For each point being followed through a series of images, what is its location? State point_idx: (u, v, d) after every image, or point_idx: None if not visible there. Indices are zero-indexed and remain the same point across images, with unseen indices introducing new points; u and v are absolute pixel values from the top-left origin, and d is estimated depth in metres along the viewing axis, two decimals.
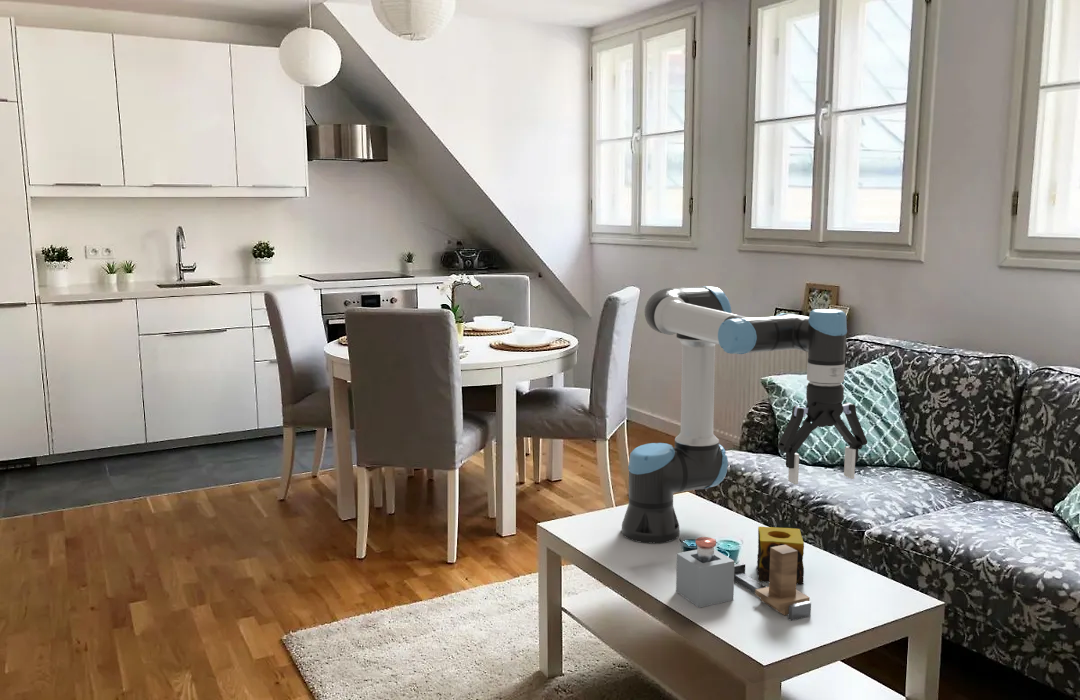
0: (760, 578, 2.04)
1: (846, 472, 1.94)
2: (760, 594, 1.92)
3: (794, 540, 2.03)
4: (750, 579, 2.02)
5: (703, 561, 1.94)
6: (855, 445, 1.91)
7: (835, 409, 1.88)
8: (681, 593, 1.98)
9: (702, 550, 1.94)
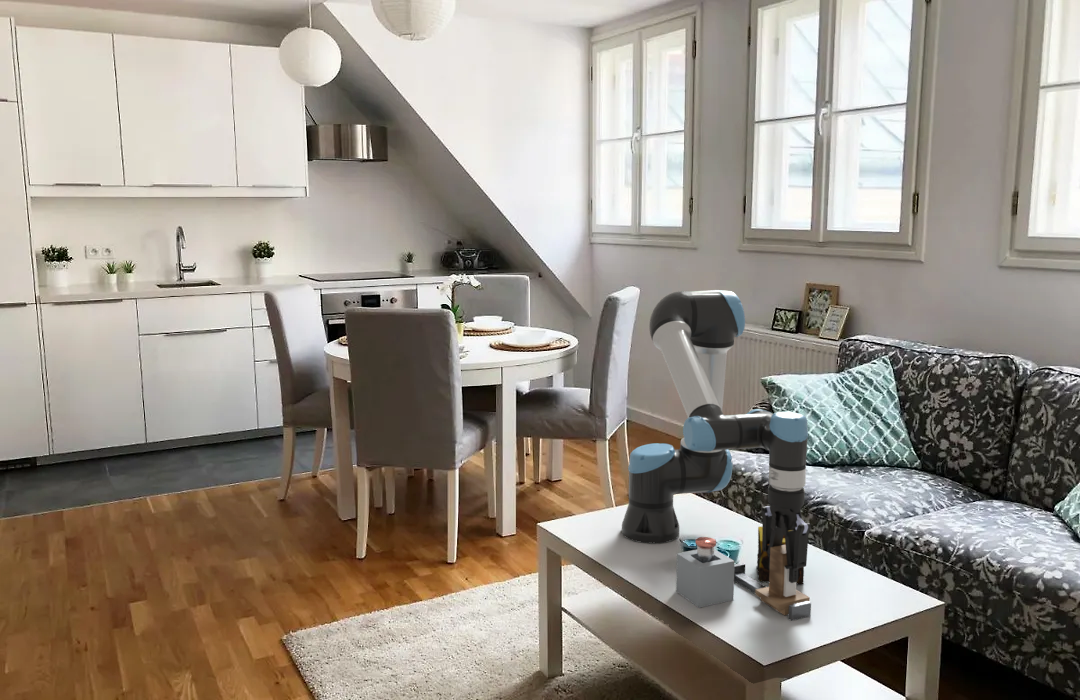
0: (760, 578, 2.04)
1: None
2: (760, 594, 1.92)
3: None
4: (750, 579, 2.02)
5: (703, 561, 1.94)
6: (788, 563, 1.87)
7: (788, 513, 1.86)
8: (681, 593, 1.98)
9: (702, 550, 1.94)
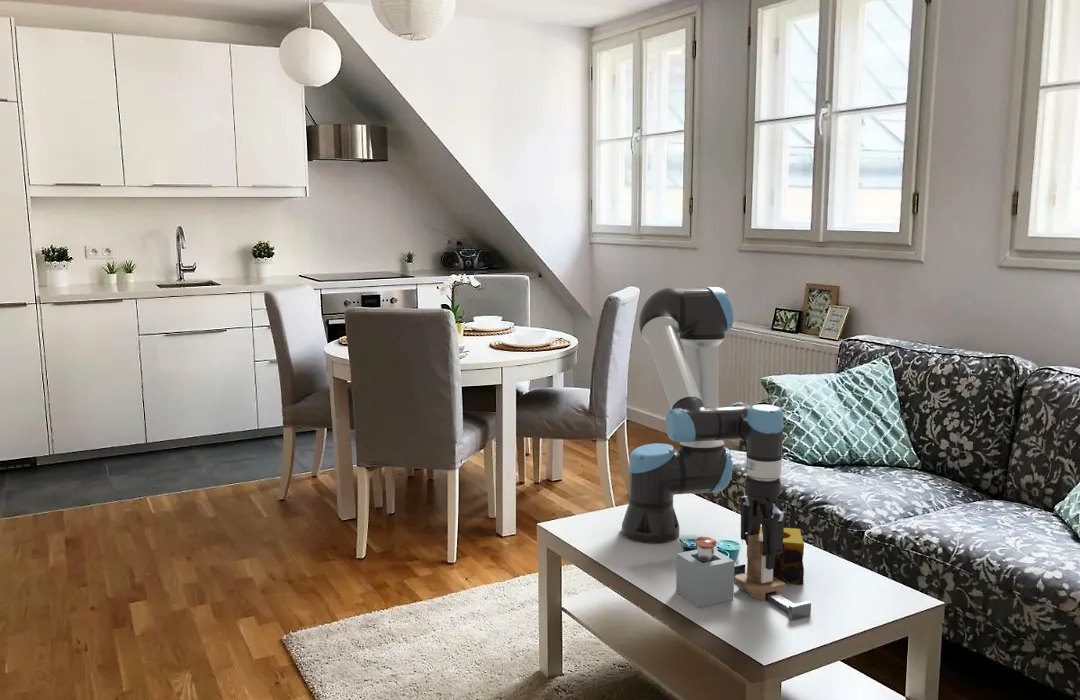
0: None
1: None
2: (738, 581, 1.99)
3: (794, 540, 2.03)
4: None
5: (703, 561, 1.94)
6: (764, 550, 1.94)
7: (764, 502, 1.93)
8: (681, 593, 1.98)
9: (702, 550, 1.94)
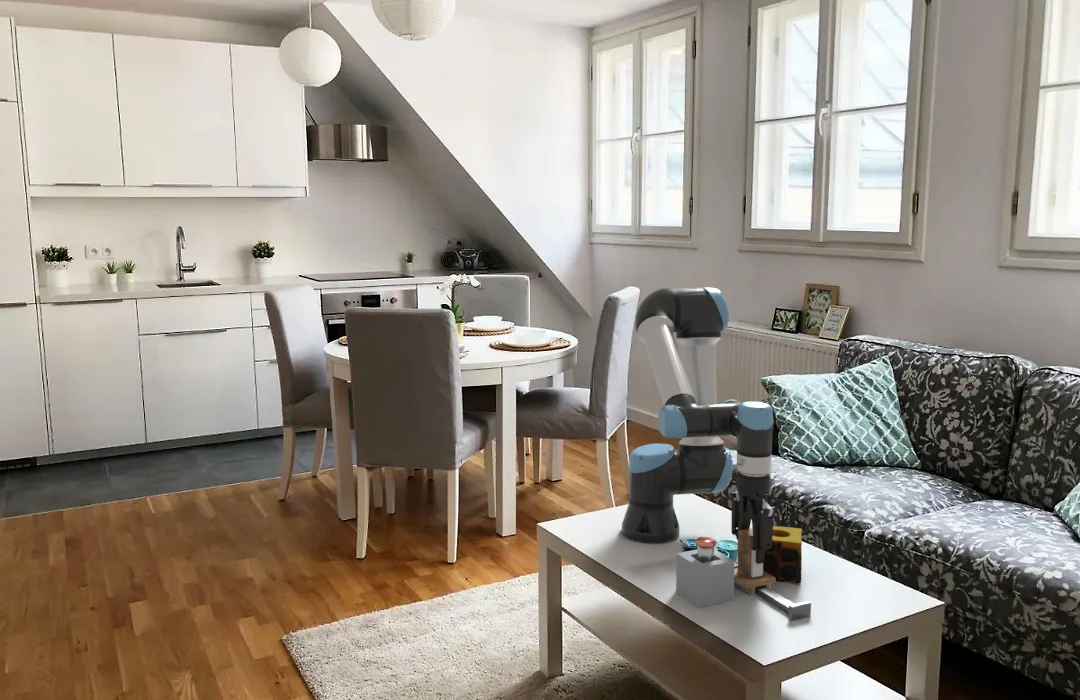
0: None
1: None
2: None
3: (793, 539, 2.04)
4: None
5: (703, 561, 1.94)
6: (754, 545, 1.97)
7: (754, 497, 1.96)
8: (681, 593, 1.98)
9: (702, 550, 1.94)
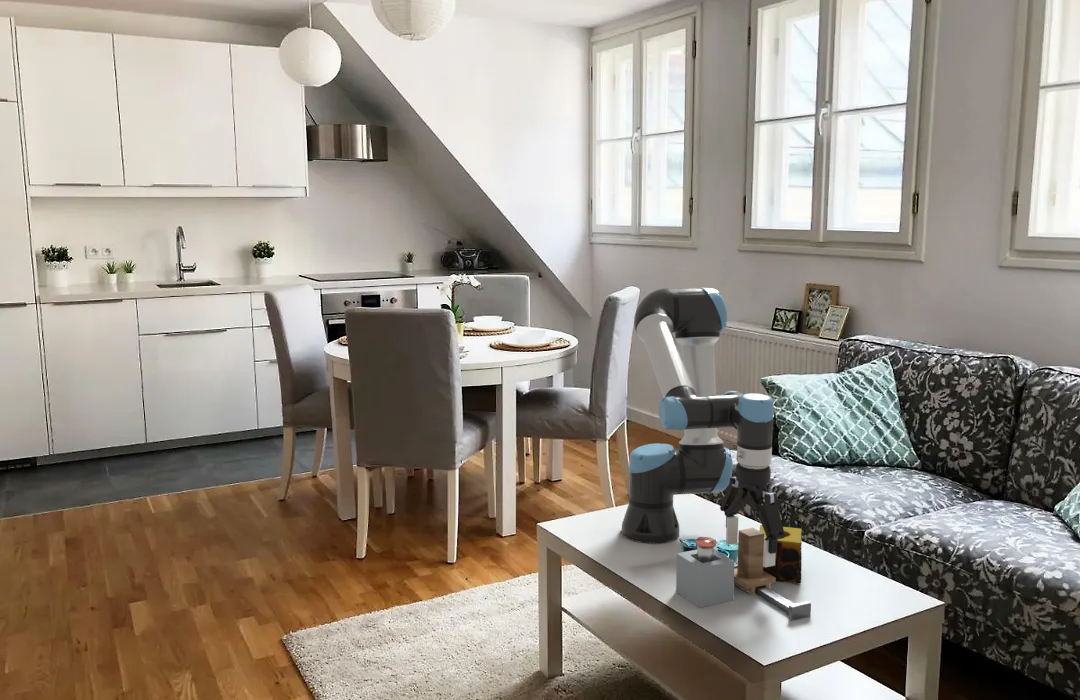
0: None
1: None
2: None
3: (792, 539, 2.04)
4: None
5: (703, 561, 1.94)
6: (767, 535, 1.93)
7: (753, 491, 1.96)
8: (681, 593, 1.98)
9: (702, 550, 1.94)
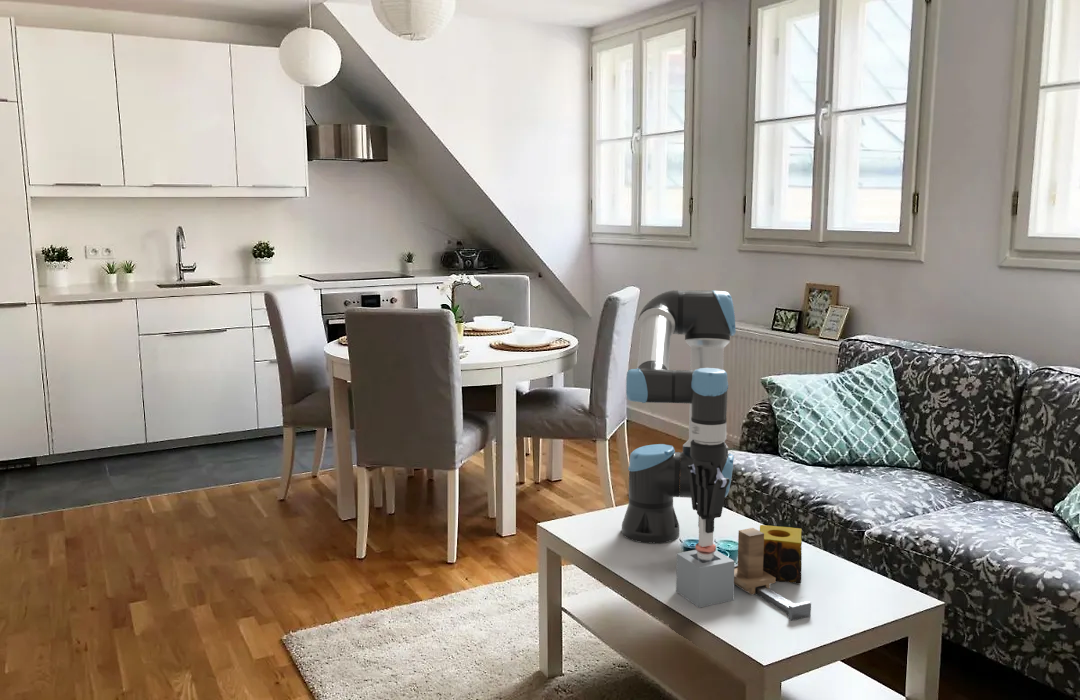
0: None
1: None
2: None
3: (793, 539, 2.04)
4: None
5: None
6: (704, 513, 1.93)
7: (709, 466, 1.90)
8: (681, 593, 1.98)
9: (702, 556, 1.94)
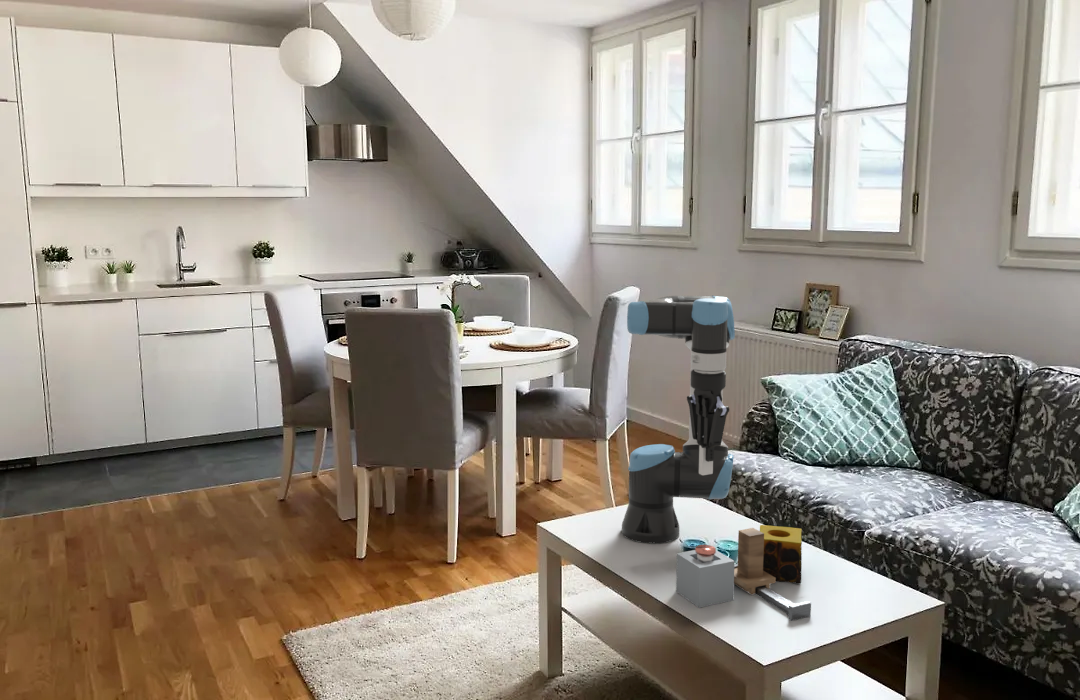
0: None
1: None
2: None
3: (793, 539, 2.04)
4: None
5: None
6: (704, 442, 1.95)
7: (709, 395, 1.92)
8: (681, 593, 1.98)
9: (702, 558, 1.94)
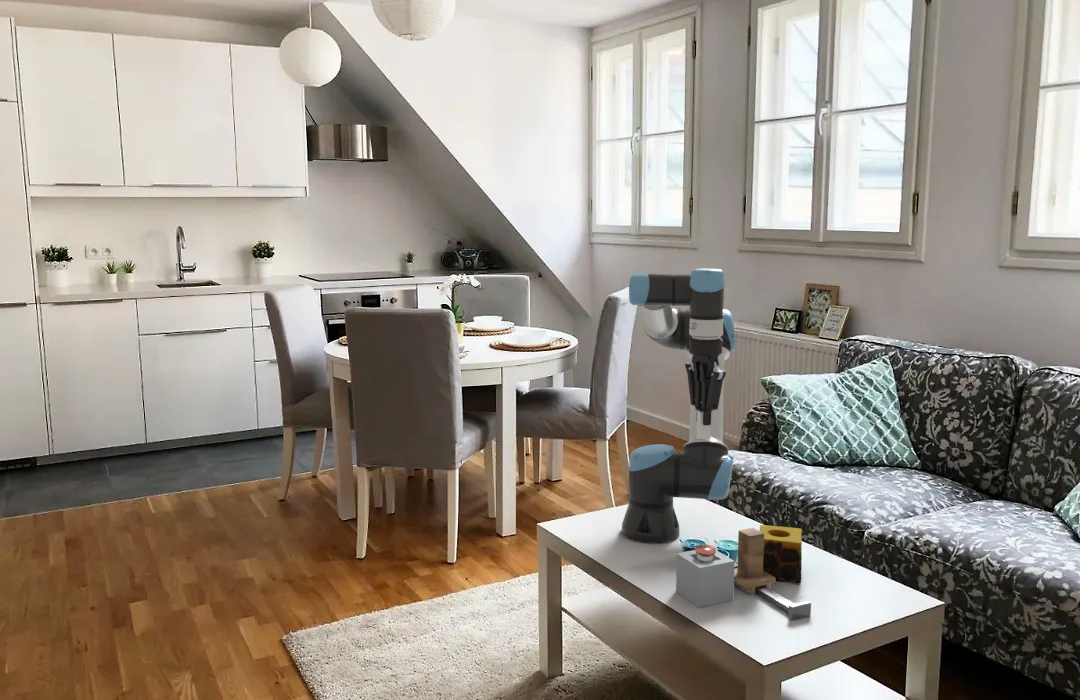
0: None
1: None
2: None
3: (793, 539, 2.04)
4: None
5: None
6: (702, 406, 2.03)
7: (706, 360, 2.00)
8: (681, 593, 1.98)
9: (702, 558, 1.94)
